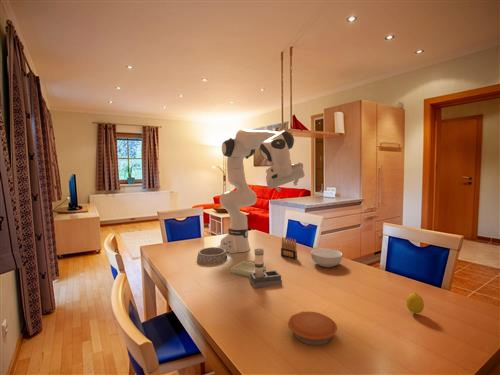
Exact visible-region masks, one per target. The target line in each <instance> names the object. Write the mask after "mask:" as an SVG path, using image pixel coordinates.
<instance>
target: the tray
mask: <svg viewBox="0 0 500 375" xmlns="http://www.w3.org/2000/svg"><path fill="white" fill-rule="evenodd" d="M264 271H266V264H264ZM250 273H255V262H251V261H246V260H242V261H240V262H239V263H237V264H234V265H233V266H232V267H230V274H233V275H237V276H243V277H246V278H247V277H248V278H250Z"/></svg>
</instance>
